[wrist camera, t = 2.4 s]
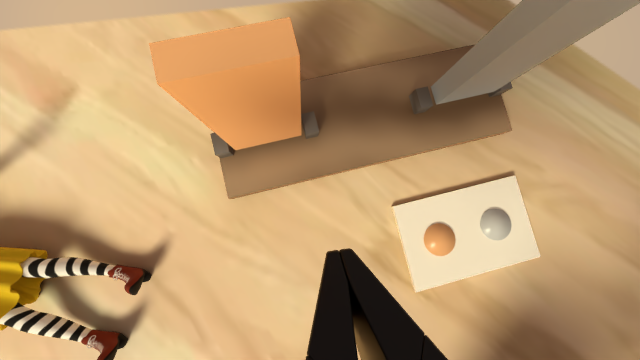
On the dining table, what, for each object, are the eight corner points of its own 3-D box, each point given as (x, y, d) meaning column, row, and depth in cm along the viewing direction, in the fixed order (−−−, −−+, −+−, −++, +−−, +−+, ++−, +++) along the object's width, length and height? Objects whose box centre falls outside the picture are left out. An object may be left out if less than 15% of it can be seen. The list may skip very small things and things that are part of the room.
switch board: (503, 133, 24) (525, 125, 21) (231, 198, 22) (223, 197, 19) (477, 49, 24) (495, 32, 22) (211, 105, 22) (200, 92, 20)
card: (536, 255, 23) (542, 257, 22) (414, 290, 22) (417, 292, 21) (511, 175, 23) (516, 175, 23) (391, 206, 23) (393, 206, 22)
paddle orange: (301, 135, 20) (299, 55, 10) (235, 150, 20) (157, 83, 9) (296, 116, 21) (289, 17, 10) (231, 131, 20) (149, 43, 9)
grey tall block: (493, 91, 22) (679, -22, 11) (436, 104, 21) (570, 0, 11) (488, 74, 22) (666, -54, 11) (430, 86, 21) (558, -34, 11)
